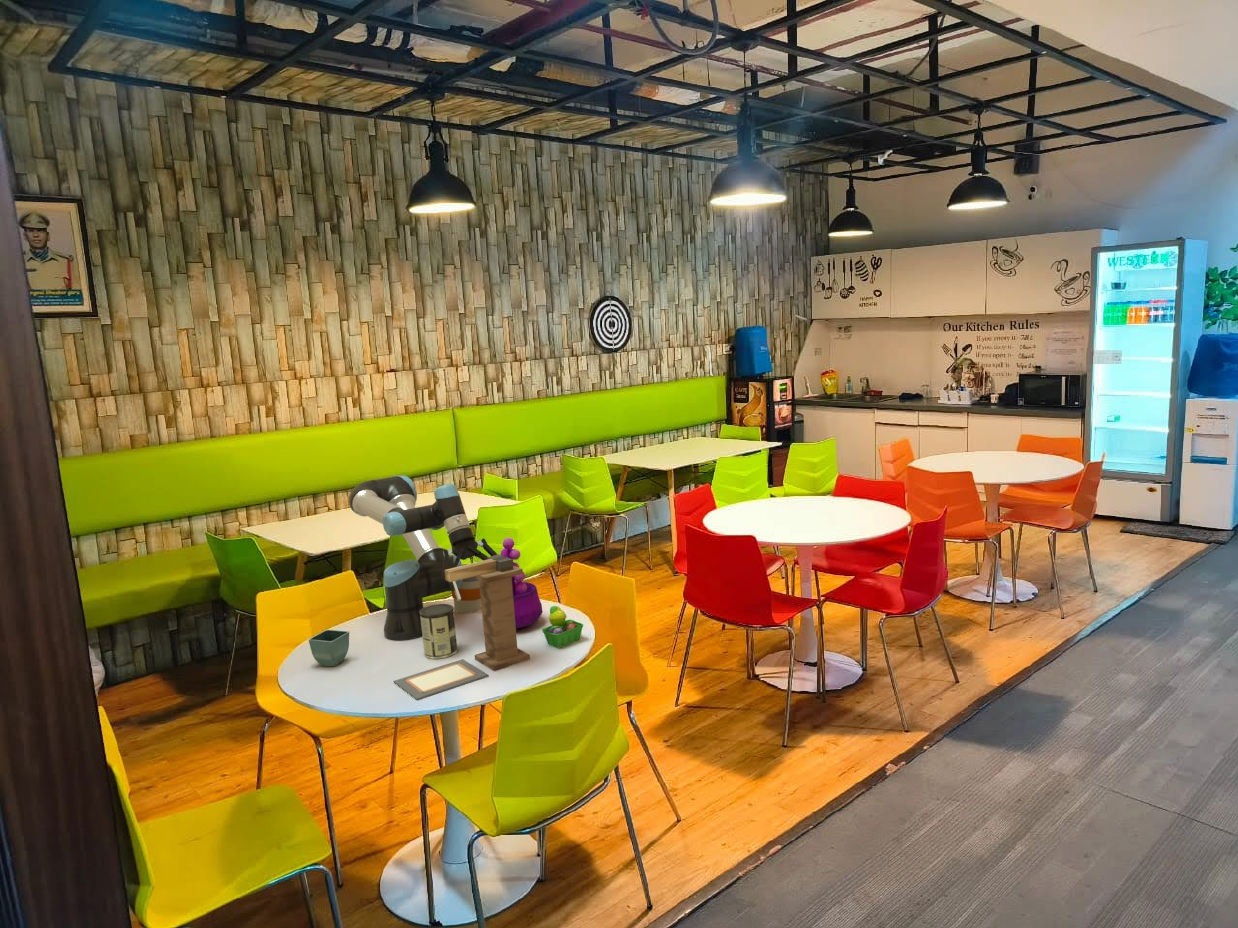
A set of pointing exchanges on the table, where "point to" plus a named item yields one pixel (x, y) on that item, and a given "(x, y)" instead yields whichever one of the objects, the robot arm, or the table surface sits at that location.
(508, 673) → the table surface
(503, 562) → the wooden handled hammer
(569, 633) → the fruit basket
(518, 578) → the decorative plant
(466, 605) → the reusable coffee cup
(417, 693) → the pad
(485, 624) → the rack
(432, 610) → the coffee can
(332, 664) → the flower pot
